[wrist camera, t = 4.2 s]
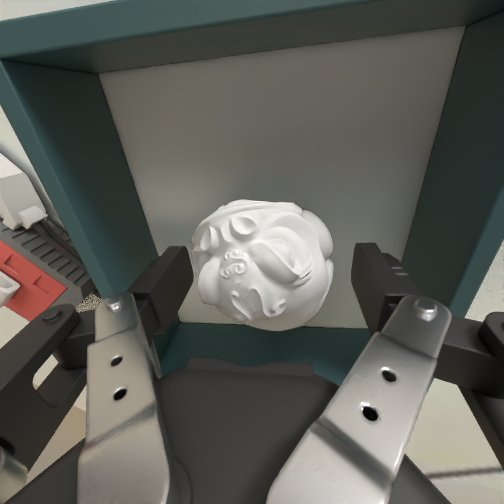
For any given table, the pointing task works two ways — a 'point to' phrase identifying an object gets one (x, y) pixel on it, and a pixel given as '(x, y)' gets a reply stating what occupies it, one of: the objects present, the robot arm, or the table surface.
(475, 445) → the table surface
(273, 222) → the white rounded figurine
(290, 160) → the table surface
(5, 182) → the walkie-talkie
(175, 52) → the open box
